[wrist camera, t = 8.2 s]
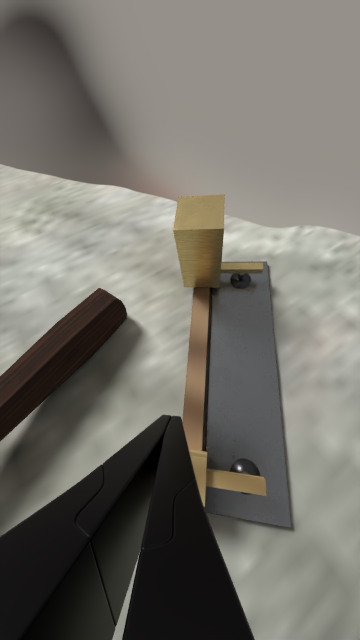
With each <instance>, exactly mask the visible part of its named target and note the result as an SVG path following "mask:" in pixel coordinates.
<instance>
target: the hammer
mask: <svg viewBox="0 0 360 640" xmlns="http://www.w3.org/2000/svg"><path fill="white" fill-rule="evenodd" d="M126 317H127V312H126V308H125V306H124V304H123V303H122V301H121V300H119V299H118V298H116V297H115V296H113V295H111V294H110V293H108V292H107V291H105V290H103V289H101V288H98V289H97V290H96V291H95V292H94V293H92V294H91V295H90V296H89V297H88V298H86V299H85V300H84V301H83V302H81V303H80V304H79V305H78V306H77V307H75V308H74V309H73V310H72V311H71V312H69V313H68V314H67V315H66V316H65V317H63V318H62V319H61V320H60V321H58V322H57V323H56V324H55V325H54V326H53V327H52V328H51V329H50V330H49V331H48V332H47V333H46V334H45V335H43V336H42V337H41V338H40V339H39V340H38V341H37V342H36V343H35V344H34V345H33V346H32V347H31V348H30V349H29V350H28V351H27V352H26V353H25V354H23V355H22V356H21V357H20V358H19V359H18V360H17V361H16V362H15V363H14V364H13V365H12V366H11V367H10V368H9V369H8V370H7V371H6V372H5V373H3V374H2V375H1V376H0V441H1V440H2V439H3V438H4V437H5V436H7V435H8V434H9V433H10V432H11V431H12V430H13V429H14V428H15V427H16V426H17V425H18V424H19V423H20V422H22V421H23V420H24V419H25V418H26V417H27V416H28V415H29V414H30V413H31V412H32V411H33V410H34V409H35V408H37V407H38V406H39V405H40V404H41V403H42V402H43V401H44V400H45V399H46V398H47V397H48V396H49V395H50V394H51V393H53V392H54V391H55V390H56V389H57V388H58V387H59V386H60V385H61V384H62V383H63V382H64V381H65V380H66V379H68V378H69V377H70V376H71V375H72V374H73V373H74V372H75V371H76V370H77V369H78V368H79V367H80V366H81V365H83V364H84V363H85V362H86V361H87V360H88V359H89V358H90V357H91V356H92V355H93V354H94V353H95V352H96V351H97V350H98V349H99V348H100V347H101V346H102V345H103V344H104V343H105V342H106V341H107V340H108V339H109V337H110V336H111V335H112V334H113V333H114V332H115V331H116V330H117V329H118V328H119V327H120V325H121V324H122V323H123V322H124V321H125V320H126Z"/></svg>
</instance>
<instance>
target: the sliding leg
mask: <svg viewBox="0 0 360 640" xmlns="http://www.w3.org/2000/svg"><path fill="white" fill-rule="evenodd" d="M224 196H225V195H211V196H210V195H209V196H192V197H178V203H177V210H176V216H175V222H174V229H173V231H174V236H175V242H176V247H177V252H178V257H179V262H180V267H181V272H182V277H183V283H184V287H209V288H219V286H220V273H222V274H238V278H240V279H242V278H244V275H245V274H262V272H263V263H221V260H222V247H223V234H224Z"/></svg>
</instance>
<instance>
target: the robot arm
mask: <svg viewBox="0 0 360 640" xmlns="http://www.w3.org/2000/svg"><path fill="white" fill-rule="evenodd" d="M140 549H141V552H140ZM139 552H140V554H139ZM138 555H139V559H138ZM137 559H138V564H137V569H136V574H135V579H134V584H133V589H132V594H131V599H130V604H129V609H128V614H127V619H126V624H125V628H124V633H123V638H122V640H255V639H254V637H253V634H252V631H251V629H250V626H249V624H248V621H247V619H246V616H245V613H244V611H243V608H242V606H241V603H240V600H239V598H238V595H237V593H236V590H235V588H234V585H233V582H232V580H231V577H230V575H229V572H228V569H227V567H226V564H225V562H224V559H223V557H222V554H221V551H220V549H219V546H218V544H217V541H216V538H215V536H214V533H213V531H212V528H211V525H210V523H209V520H208V517H207V514H206V512H205V509H204V506H203V503H202V499H201V496H200V492H199V488H198V484H197V480H196V477H195V473H194V469H193V464H192V460H191V456H190V452H189V448H188V444H187V440H186V436H185V432H184V427H183V423H182V419H181V417H180V416H170V415H162V416H161V417H160V418H158V419H157V420H156V421H155V422H153V423H152V424H151V425H150V426H148V427H147V428H146V429H145V430H144V431H142V432H141V433H140V434H139V435H137V436H136V437H135V438H134V439H132V440H131V441H130V442H129V443H128V444H126V445H125V446H124V447H123V448H121V449H120V450H119V451H118V452H117V453H115V454H114V455H113V456H112V457H110V458H109V459H108V460H107V461H105V462H104V463H103V465H100V466H99V467H98V468H96V469H95V470H94V471H93V472H91V473H90V474H89V475H87V476H86V477H85V478H84V479H82V480H81V481H80V482H78V483H77V484H76V485H74V486H73V487H71V488H70V489H69V490H67V491H66V492H64V493H63V494H62V495H60V496H59V497H57V498H56V499H54V500H53V501H51V502H50V503H49V504H47V505H46V506H44V507H43V508H41V509H40V510H38V511H37V512H35V513H34V514H33V515H31V516H30V517H28V518H27V519H25V520H24V521H22V522H21V523H20V524H18V525H17V526H15V527H14V528H12V529H11V530H9V531H8V532H6V533H5V534H4V535H2V536H1V537H0V640H112V638H113V635H114V632H115V627H116V625H117V622H118V619H119V616H120V613H121V609H122V606H123V603H124V600H125V597H126V593H127V590H128V587H129V584H130V581H131V578H132V574H133V571H134V568H135V565H136V562H137Z"/></svg>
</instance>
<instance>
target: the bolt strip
mask: <svg viewBox="0 0 360 640" xmlns="http://www.w3.org/2000/svg"><path fill="white" fill-rule="evenodd" d="M221 263H263V272H262V274H245V275H244V278H242V279H240V278H238V274H222V273H220V286H219V288H213V299H212V323H211V347H210V371H209V395H208V419H207V443H206V452H207V469H214V470H220V471H227V472H234V473H240V474H241V473H242V472H243V471H247V472H248V473H249V474H250V475H254V476H260V477H264V479H265V480H266V496H263V495H257V494H251V493H245V492H239V491H233V490H226V489H220V488H214V487H208V486H206V494H205V506H204V509H205V512H208V513H213V514H219V515H224V516H230V517H235V518H240V519H246V520H251V521H257V522H262V523H268V524H273V525H279V526H284V527H289V528H291V520H290V509H289V498H288V487H287V476H286V465H285V454H284V443H283V432H282V421H281V410H280V399H279V388H278V377H277V366H276V354H275V343H274V332H273V321H272V310H271V299H270V288H269V277H268V266H267V262H221Z"/></svg>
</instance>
